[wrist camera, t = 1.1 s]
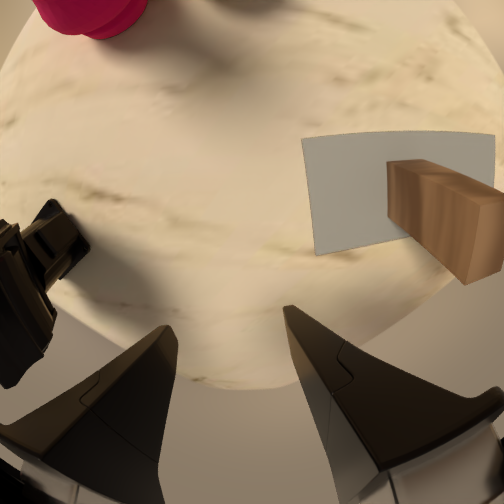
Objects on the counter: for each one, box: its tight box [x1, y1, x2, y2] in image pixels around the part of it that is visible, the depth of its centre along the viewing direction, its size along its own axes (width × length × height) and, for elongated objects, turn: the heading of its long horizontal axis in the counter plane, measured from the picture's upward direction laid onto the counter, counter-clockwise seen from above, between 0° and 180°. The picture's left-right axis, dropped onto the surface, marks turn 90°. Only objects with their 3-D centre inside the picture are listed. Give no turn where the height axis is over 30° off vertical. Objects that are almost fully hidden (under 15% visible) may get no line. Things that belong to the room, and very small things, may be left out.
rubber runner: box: [301, 131, 495, 256], centre depth 21 cm, size 23×10×1 cm, turn 101°
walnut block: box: [386, 159, 504, 285], centre depth 16 cm, size 4×5×11 cm
